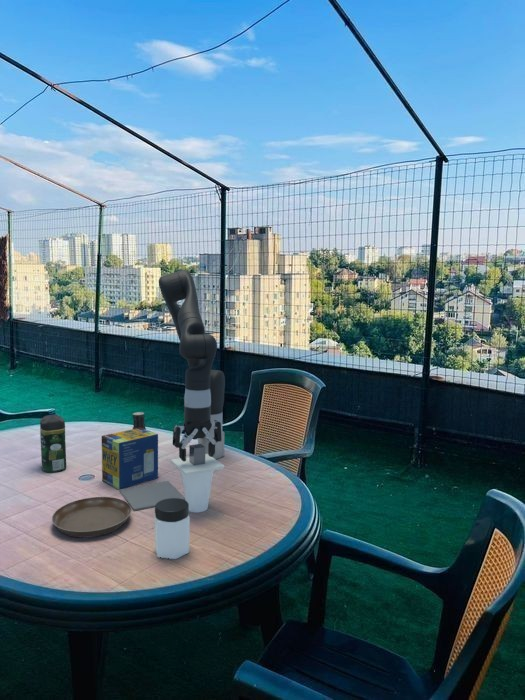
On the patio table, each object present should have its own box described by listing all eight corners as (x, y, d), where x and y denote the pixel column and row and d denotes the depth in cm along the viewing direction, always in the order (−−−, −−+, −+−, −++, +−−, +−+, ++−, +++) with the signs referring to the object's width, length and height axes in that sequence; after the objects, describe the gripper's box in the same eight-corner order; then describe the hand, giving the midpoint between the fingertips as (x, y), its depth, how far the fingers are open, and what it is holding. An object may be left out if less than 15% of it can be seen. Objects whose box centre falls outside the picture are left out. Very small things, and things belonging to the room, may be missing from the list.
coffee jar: (40, 465, 186) (38, 414, 184) (63, 462, 190) (62, 412, 188) (43, 474, 178) (41, 421, 175) (68, 471, 182) (66, 418, 179)
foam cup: (186, 517, 149) (187, 473, 147) (176, 504, 157) (176, 462, 155) (217, 511, 153) (218, 468, 151) (206, 499, 161) (206, 458, 160)
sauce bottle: (152, 465, 189) (151, 411, 186) (146, 471, 183) (146, 416, 180) (134, 464, 189) (133, 410, 187) (128, 470, 183) (127, 415, 181)
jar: (175, 538, 136) (175, 494, 135) (196, 549, 131) (196, 503, 130) (146, 551, 130) (146, 505, 128) (168, 563, 124) (168, 515, 123)
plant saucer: (87, 550, 130) (87, 537, 130) (35, 528, 141) (35, 516, 140) (147, 519, 147) (147, 508, 147) (97, 501, 158) (96, 491, 158)
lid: (207, 456, 161) (208, 437, 161) (224, 468, 151) (225, 449, 150) (170, 462, 155) (170, 443, 155) (185, 475, 145) (185, 455, 144)
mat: (168, 482, 173) (168, 480, 173) (186, 500, 160) (186, 498, 160) (119, 491, 166) (119, 489, 165) (134, 511, 152) (134, 509, 152)
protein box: (101, 481, 173) (100, 435, 171) (141, 469, 184) (140, 426, 182) (118, 490, 166) (118, 442, 164) (159, 477, 177) (159, 433, 175)
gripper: (214, 398, 158) (214, 451, 160) (169, 403, 151) (169, 458, 153) (225, 404, 151) (225, 458, 153) (178, 409, 144) (178, 466, 146)
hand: (197, 458), depth 153 cm, fingers open, 8 cm apart
